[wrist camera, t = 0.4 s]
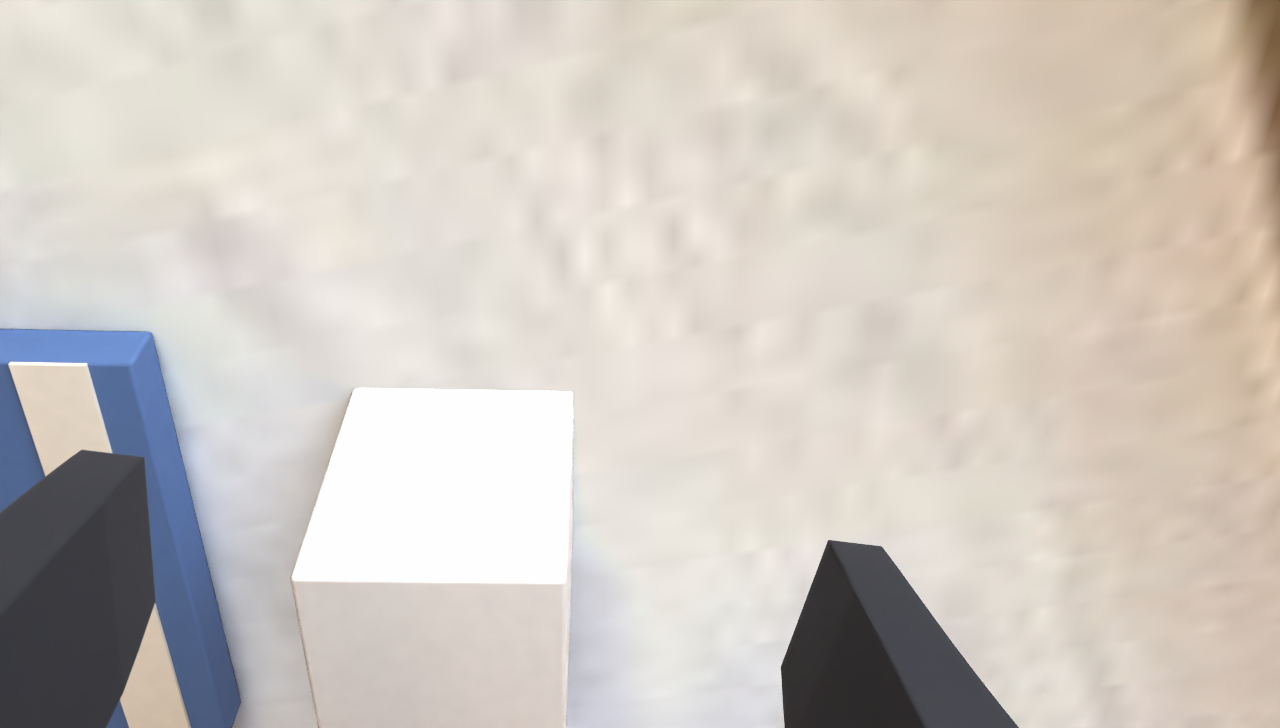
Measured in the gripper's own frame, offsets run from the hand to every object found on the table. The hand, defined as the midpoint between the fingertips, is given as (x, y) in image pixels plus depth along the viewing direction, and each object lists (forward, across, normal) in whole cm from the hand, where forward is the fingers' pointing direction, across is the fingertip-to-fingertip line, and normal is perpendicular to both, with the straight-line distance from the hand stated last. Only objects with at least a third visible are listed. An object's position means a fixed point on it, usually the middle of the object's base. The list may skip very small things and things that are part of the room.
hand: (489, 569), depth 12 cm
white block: (+10, +1, +7) cm, 12 cm away
